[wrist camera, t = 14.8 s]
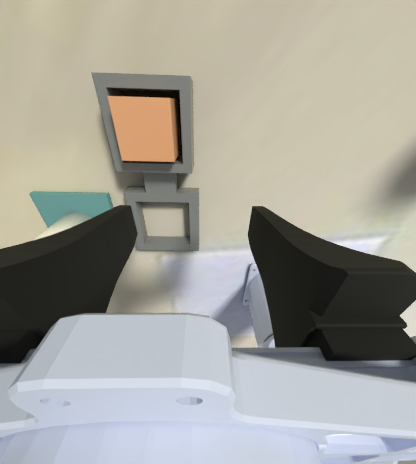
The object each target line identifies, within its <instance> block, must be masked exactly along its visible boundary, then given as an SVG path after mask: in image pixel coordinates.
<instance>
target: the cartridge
mask: <svg viewBox="0 0 416 464" xmlns="http://www.w3.org/2000/svg"><path fill="white" fill-rule="evenodd" d="M91 218H92V217H90V216H89V215H87V214H85V213H82V212H78V211H72V212H68V213H67V214H65V215H64V216H63V217H62V218H60V219H59V220H58V221H56V222H55V223H54V224H53V225H51V226H50V227H49V228H48V229H46V230H45V231H44V232H43V233H41V234H40V235H39V236H38V237H36V238H35V239H34V240H36V239H40V238H43V237H46V236H49V235H52V234H55V233H58V232H61V231H63V230H66V229H69V228H71V227H73V226H76V225H78V224H80V223H82V222H85V221H87V220H89V219H91Z"/></svg>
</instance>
